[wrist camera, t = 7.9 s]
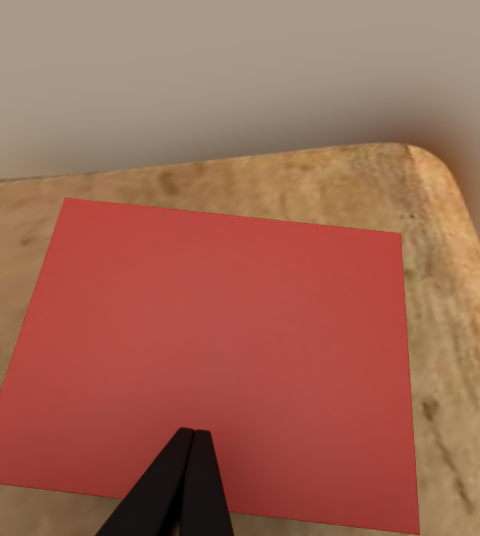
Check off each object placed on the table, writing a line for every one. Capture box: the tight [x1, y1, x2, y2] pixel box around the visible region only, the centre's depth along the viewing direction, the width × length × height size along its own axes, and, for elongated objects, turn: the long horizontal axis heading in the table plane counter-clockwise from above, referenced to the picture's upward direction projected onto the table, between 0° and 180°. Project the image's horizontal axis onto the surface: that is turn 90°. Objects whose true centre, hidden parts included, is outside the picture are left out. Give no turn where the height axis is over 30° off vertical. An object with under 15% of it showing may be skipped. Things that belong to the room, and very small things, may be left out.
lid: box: [0, 198, 420, 535], centre depth 13 cm, size 11×15×1 cm
